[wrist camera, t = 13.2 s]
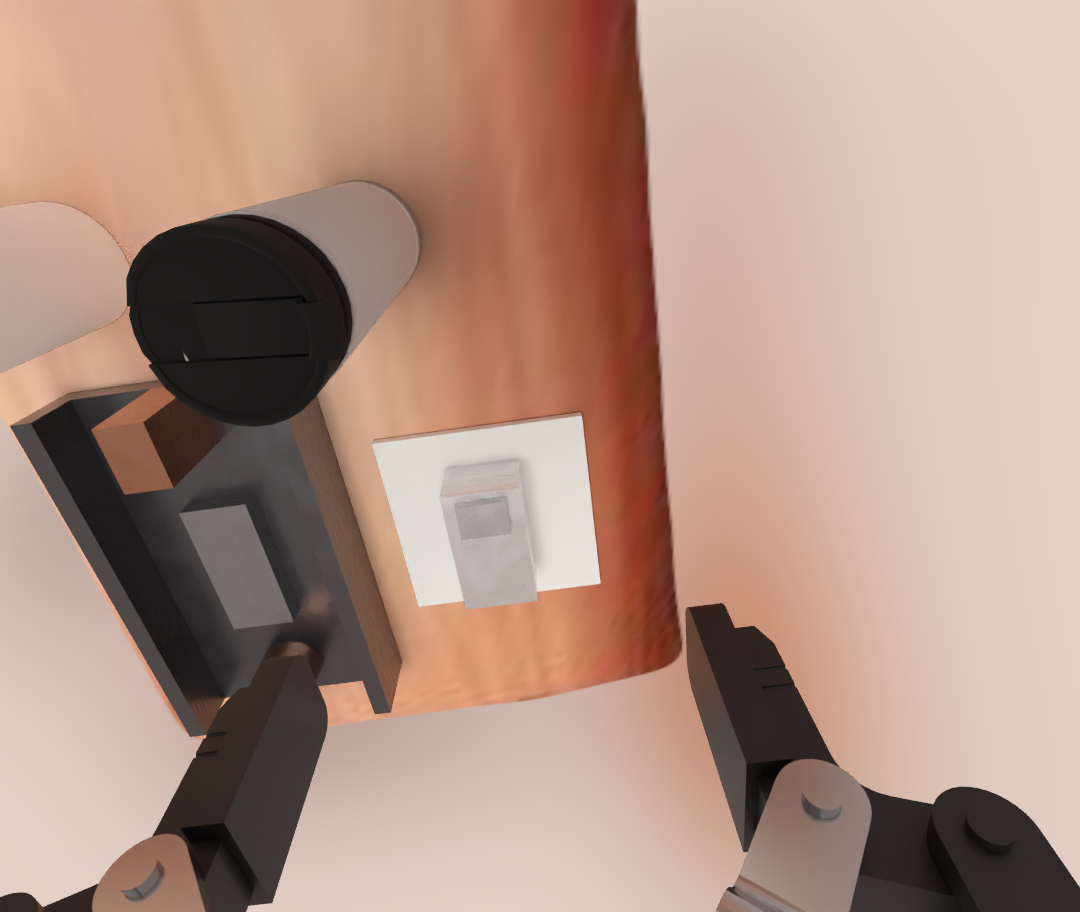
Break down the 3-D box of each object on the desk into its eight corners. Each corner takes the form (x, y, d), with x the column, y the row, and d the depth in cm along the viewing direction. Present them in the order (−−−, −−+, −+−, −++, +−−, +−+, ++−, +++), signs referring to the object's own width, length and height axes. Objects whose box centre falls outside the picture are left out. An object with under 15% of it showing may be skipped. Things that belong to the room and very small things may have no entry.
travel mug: (434, 290, 37) (358, 429, 19) (324, 297, 37) (147, 443, 19) (419, 176, 34) (313, 216, 16) (300, 184, 34) (64, 232, 16)
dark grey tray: (67, 393, 39) (-25, 445, 33) (304, 360, 39) (260, 406, 32) (218, 684, 51) (173, 766, 44) (401, 661, 51) (384, 741, 44)
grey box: (445, 467, 42) (437, 503, 38) (518, 458, 42) (518, 492, 38) (469, 573, 46) (465, 615, 42) (536, 564, 46) (538, 606, 42)
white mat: (373, 440, 41) (371, 444, 41) (580, 411, 41) (581, 415, 40) (419, 601, 48) (418, 606, 47) (599, 578, 47) (600, 583, 47)
